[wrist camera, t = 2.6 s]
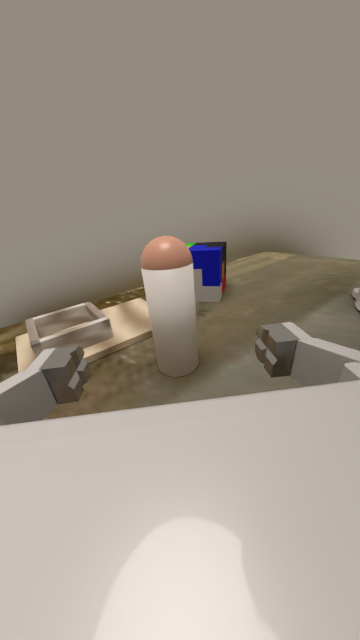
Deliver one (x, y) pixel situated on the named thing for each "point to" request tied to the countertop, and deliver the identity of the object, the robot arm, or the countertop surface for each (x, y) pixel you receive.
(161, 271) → the dome-capped white cylinder
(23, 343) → the jig cradle
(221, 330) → the countertop surface
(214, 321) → the countertop surface
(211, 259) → the puzzle toy
